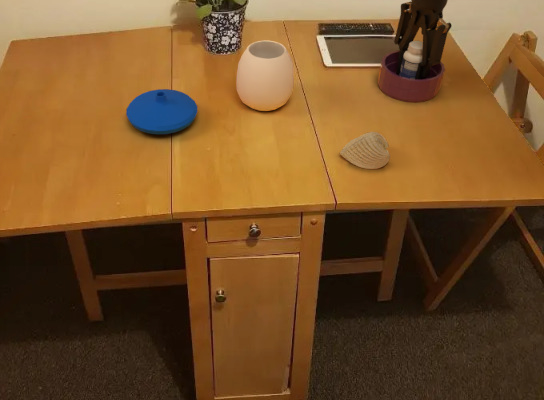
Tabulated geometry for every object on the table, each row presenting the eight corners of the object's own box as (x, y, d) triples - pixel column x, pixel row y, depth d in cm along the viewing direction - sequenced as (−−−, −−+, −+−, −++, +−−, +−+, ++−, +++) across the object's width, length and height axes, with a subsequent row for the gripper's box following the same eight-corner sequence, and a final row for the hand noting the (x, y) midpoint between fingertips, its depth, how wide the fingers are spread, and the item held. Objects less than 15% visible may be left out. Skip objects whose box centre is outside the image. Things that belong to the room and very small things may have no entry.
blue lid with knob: (114, 119, 131) (109, 92, 126) (169, 93, 139) (167, 67, 134) (155, 151, 122) (152, 124, 118) (212, 122, 130) (211, 96, 125)
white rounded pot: (254, 123, 130) (256, 70, 120) (225, 95, 138) (225, 43, 129) (303, 107, 134) (309, 55, 125) (272, 81, 143) (275, 30, 134)
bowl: (451, 93, 139) (458, 71, 134) (404, 109, 134) (410, 87, 130) (410, 66, 148) (415, 44, 144) (365, 80, 143) (369, 58, 139)
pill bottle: (403, 73, 142) (411, 36, 136) (424, 80, 140) (433, 43, 133) (394, 83, 139) (402, 45, 133) (415, 90, 137) (425, 52, 130)
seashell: (399, 164, 116) (369, 152, 112) (369, 180, 122) (340, 169, 118) (395, 129, 119) (366, 117, 115) (366, 146, 126) (338, 135, 122)
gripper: (390, -26, 128) (372, 67, 144) (450, 5, 116) (424, 103, 132) (416, -33, 131) (396, 60, 147) (478, -3, 119) (448, 95, 135)
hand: (409, 80), depth 139 cm, fingers closed on pill bottle, 5 cm apart
